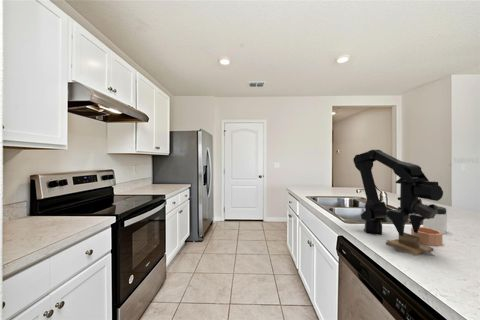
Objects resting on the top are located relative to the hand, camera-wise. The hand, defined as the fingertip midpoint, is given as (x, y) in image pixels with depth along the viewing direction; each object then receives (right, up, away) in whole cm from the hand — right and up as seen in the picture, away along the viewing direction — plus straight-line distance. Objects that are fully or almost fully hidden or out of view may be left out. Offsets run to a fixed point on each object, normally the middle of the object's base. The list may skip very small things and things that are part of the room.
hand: (408, 234), depth 86 cm
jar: (+29, -6, +20) cm, 35 cm away
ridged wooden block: (0, -5, 0) cm, 5 cm away
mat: (0, -6, 0) cm, 6 cm away
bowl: (+13, -6, +6) cm, 15 cm away
